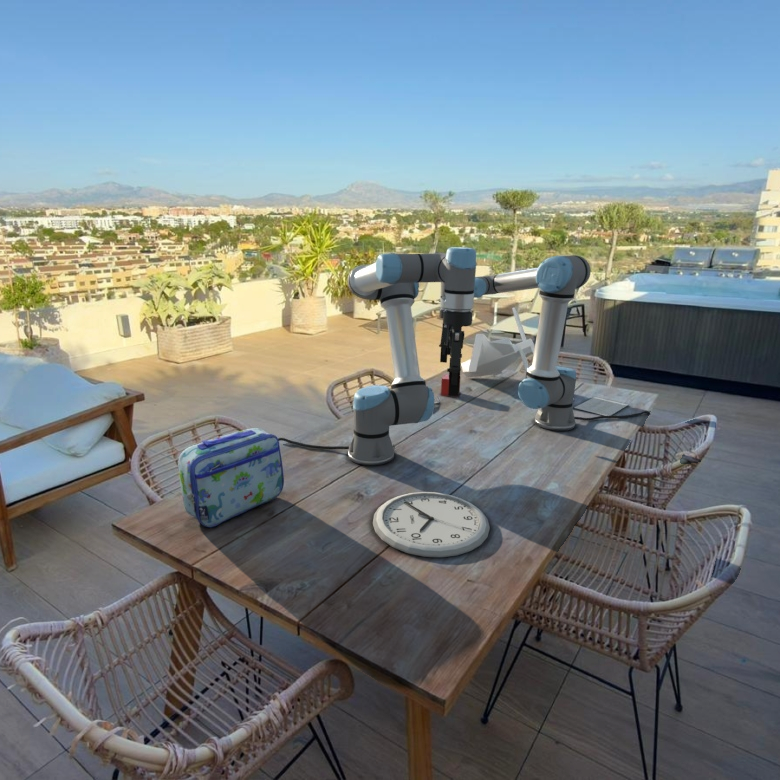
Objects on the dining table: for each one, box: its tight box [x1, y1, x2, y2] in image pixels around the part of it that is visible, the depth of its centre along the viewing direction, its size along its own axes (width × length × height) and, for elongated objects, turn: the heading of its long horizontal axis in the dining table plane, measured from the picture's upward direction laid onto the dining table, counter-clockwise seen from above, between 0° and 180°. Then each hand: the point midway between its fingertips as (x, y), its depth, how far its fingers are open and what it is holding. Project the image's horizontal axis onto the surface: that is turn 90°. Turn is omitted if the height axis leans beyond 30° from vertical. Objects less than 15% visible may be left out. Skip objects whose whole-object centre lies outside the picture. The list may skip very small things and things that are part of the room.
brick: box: [440, 374, 461, 398], centre depth 239 cm, size 7×7×8 cm
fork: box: [434, 395, 442, 406], centre depth 223 cm, size 3×16×2 cm, turn 160°
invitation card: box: [573, 396, 629, 416], centre depth 226 cm, size 21×1×15 cm
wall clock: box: [372, 491, 490, 558], centre depth 135 cm, size 30×2×30 cm
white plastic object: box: [460, 307, 535, 378], centre depth 258 cm, size 37×45×31 cm
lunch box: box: [177, 427, 285, 528], centre depth 137 cm, size 26×11×21 cm, turn 134°
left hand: (453, 388), depth 141 cm, fingers open, 13 cm apart
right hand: (446, 358), depth 222 cm, fingers open, 13 cm apart
